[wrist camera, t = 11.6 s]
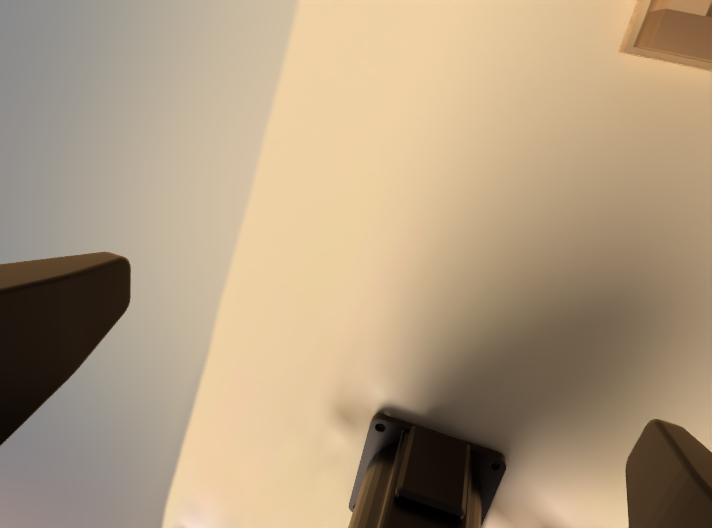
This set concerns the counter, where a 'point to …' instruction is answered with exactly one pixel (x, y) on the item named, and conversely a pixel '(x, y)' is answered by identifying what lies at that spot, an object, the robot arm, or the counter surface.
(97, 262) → the robot arm
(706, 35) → the holder
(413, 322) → the counter surface
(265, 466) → the counter surface
